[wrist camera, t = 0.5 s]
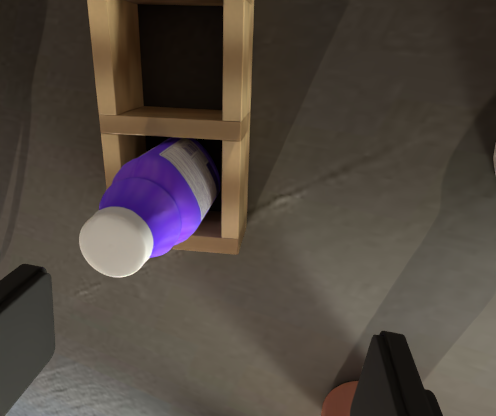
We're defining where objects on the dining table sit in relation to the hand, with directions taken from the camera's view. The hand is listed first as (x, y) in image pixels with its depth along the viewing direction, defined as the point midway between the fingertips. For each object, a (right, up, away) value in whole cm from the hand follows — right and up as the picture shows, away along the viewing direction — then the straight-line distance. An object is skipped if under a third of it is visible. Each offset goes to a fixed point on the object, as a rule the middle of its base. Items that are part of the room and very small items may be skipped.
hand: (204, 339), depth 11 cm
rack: (-4, +12, +26) cm, 29 cm away
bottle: (-4, +8, +28) cm, 29 cm away
